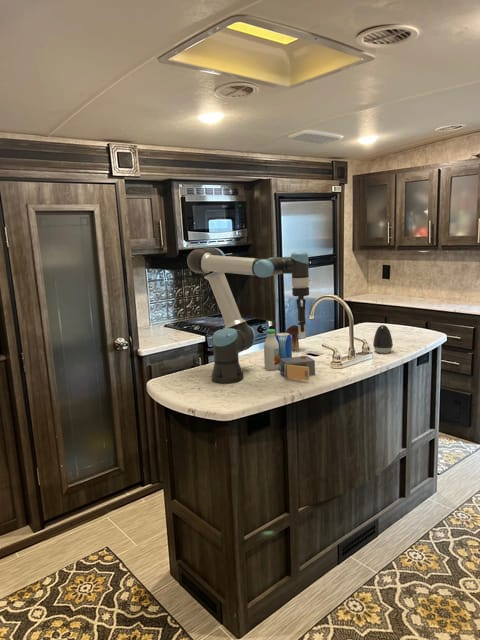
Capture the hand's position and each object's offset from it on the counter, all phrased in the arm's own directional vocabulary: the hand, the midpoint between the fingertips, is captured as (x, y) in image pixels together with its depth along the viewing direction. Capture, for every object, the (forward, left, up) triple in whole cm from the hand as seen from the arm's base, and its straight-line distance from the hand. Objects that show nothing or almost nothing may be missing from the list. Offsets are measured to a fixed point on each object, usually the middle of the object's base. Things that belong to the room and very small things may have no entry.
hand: (302, 336), depth 214 cm
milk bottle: (-8, +22, -20) cm, 31 cm away
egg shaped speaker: (+57, +27, -20) cm, 66 cm away
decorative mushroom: (+15, +51, -20) cm, 57 cm away
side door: (-4, -1, -19) cm, 20 cm away
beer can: (0, +27, -20) cm, 34 cm away
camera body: (0, +9, -20) cm, 22 cm away
